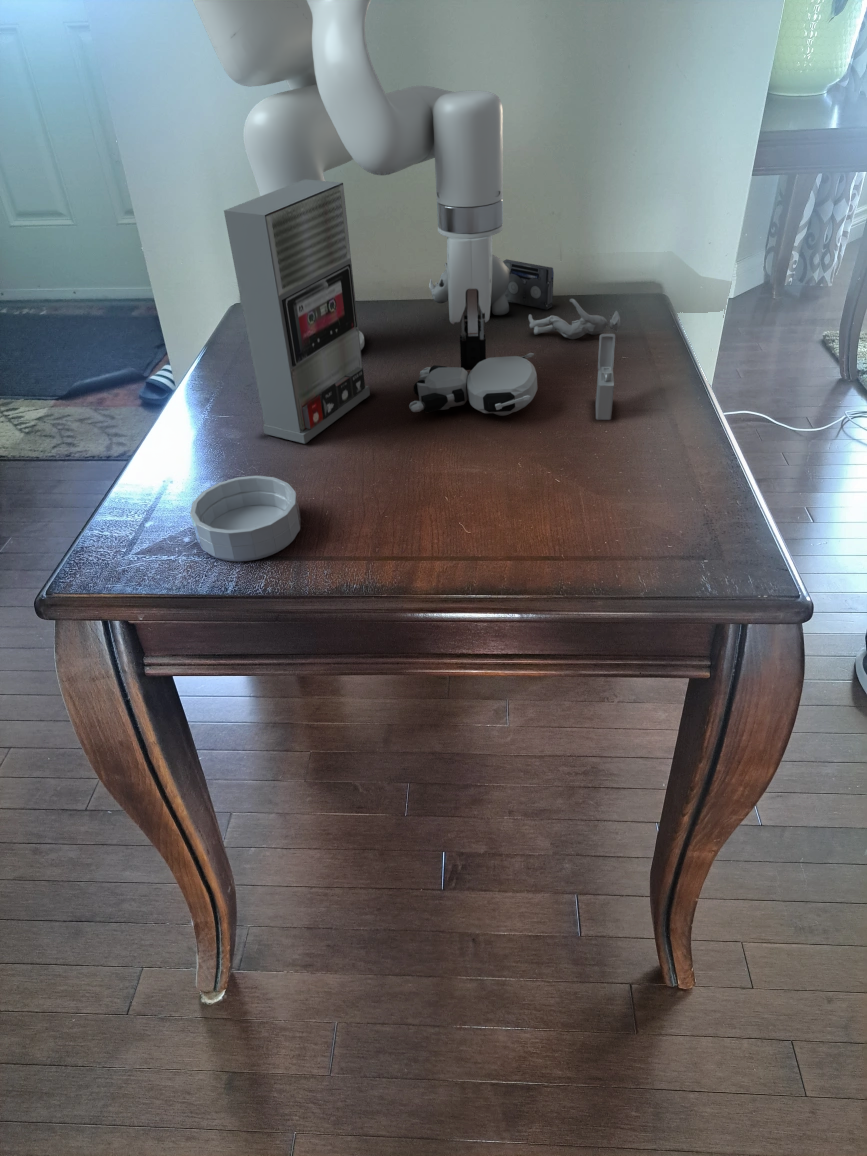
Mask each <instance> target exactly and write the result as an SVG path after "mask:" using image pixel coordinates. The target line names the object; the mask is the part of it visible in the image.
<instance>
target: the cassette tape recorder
mask: <svg viewBox="0 0 867 1156" xmlns="http://www.w3.org/2000/svg"><path fill="white" fill-rule="evenodd" d="M345 198H346V197H345V187H344V183H343V182H338V181H327V180H325V181H317V180H306V179H304V180H302V181H299V182H296V183H294V184H291V185H289V186H286V187H283V188H281V189H278V190H276V191H273V192H271V193H268V194H265V195H263V196H260V195H259V196H257V197H255V198H253V199H250V200H247V201H245V202H243V203H240V204H237V205H234V206H232V207H229V208H227V209H224V210H223V214H224V219H225V224H226V231H227V235H228V241H229V245H230V251H231V256H232V260H233V267H234V271H235V277H236V283H237V288H238V293H239V298H240V305H241V308H242V313H243V314H242V315H243V319H244V324H245V329H246V335H247V340H248V345H249V351H250V355H251V361H252V366H253V371H254V376H255V377H254V378H255V381H256V388H257V393H258V397H259V402H260V407H261V414H262V418H263V423H264V424H262V426H263V427H262V428H263V432H264V435H268V436H272V437H276V438H280V439H284V440H289V441H293V442H296V443H300V444H304V445H305V444H307V443H308V442H310V440H312V439H313V438H315V437H316V436H317V435H319V434H320V433H321V432H323V431H324V430H325V429H326V428H328V427H329V426H330V425H332V424H333V423H335V422H336V421H337V420H338V419H340V418H341V417H343V416H344V415H346V413H349V412H350V411H351V410H352V409H353V408H354V407H356V406H357V405H359V404H360V403H362V402H363V401H364V400H365V399H367V398H368V397H369V396H371V392H370V390H371V389H370V386H369V385H366V384H365V374H364V368H363V359H362V350H361V349H360V339H359V331H360V330H359V321H358V320H359V319H358V312H357V303H356V301H357V300H356V292H355V284H354V272H353V264H352V263H353V262H352V254H351V245H350V236H349V235H350V234H349V225H348V217H347V216H348V215H347V208H346V199H345Z"/></svg>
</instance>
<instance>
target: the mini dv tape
mask: <svg viewBox="0 0 867 1156" xmlns="http://www.w3.org/2000/svg"><path fill="white" fill-rule="evenodd" d="M502 261H503V262H504V264H505V265H506V266H507V267H508V269H509V271H510V273H509V284H508V288H507V290H506V292H505V296H506V299H507V301H508V303H513V304H517V305H522V306H526V307H530V308H536V309H541V310H545V311H546V310H548V309H551V308H552V307H553V302H554V301H553V300H554V299H553V298H554V274H555V273H554V272H555V271H554V267H553V266H545V265H540V264H534V263H528V262H524V261H519V260H513V259H507V258H506V259H504V260H502Z"/></svg>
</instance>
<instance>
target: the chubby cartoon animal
mask: <svg viewBox="0 0 867 1156" xmlns="http://www.w3.org/2000/svg"><path fill="white" fill-rule="evenodd" d="M503 261H504V260H502V259H501V258H500V257H499V256H497V255H494V254H492V291H491V306H490V309H491V313H492V314H493V315H494V316H505V315H506V314H508V313H509V312H510V305H509V304H510V303H509V302H508V301H507V299H506V296H505V292H506V290H507V288H508V284H509V273H510V271H509V269H508V267H507V266H506V265H505V264H504V262H503ZM444 267H445V269H444V271H443V272H442V273H441V274H440V276H439V281H438V282H437V281H435V284H434V283H433V279H432V278H430V280H429V283H428V288H429V290H430V292H431V298H432V300H433V301H434V302H435V303H437V304H445V303H446V302H449V300H448V275H447V262H444Z"/></svg>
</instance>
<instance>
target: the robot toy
mask: <svg viewBox="0 0 867 1156" xmlns="http://www.w3.org/2000/svg"><path fill="white" fill-rule="evenodd" d="M534 355H535V353H532V352H529V353H527V354H525V355H522V356H519V355H511V356H496V357H494V356H493V357H486V359H485V360H483V361H481V362H479V363H478V364H477V365H476V366H475V367H474V368H473V369H472V370H469V371H468V370H465V369H464V368H461V367H456V366H455V367H453V366H452V367H451V366H449V367H448V366H445V365H438V364H435V365H431V367H429V366H428V367H424V368H423V369H422V370H419V372H420V373H419V375H420V376H418V380H417V381H416V382H415V383H414V384H413V393H414V395H415V396H416V397H418V400H414V401H411V402H410V403H409V405H408V407H409V410H410V411H411V412H413V413H418V412H419V413H420V412H421V411H423V412H425V413H426V414H428V413H432V412H436V411H443V410H449V409H450V408H453V407H459V406H464V405H465V404H466V403H467V401H468V402H469V405H470V406H471V407H472V408H474V410H476V411H479V412H481V413H483V414H494V415H496V416H502V417H504V416H508V415H511V414H513V413H516V412H518V411H520V410H522V409H524V408H526V407H527V406H528V405H529V404H530V403H531V402H532V401H533V399H534V398H535V396H536V393H537V391H538V375H537V370H536V367H535V366H534V364H533V363H532V362H531V361H529V360H528V359H529V358H532V357H533V356H534Z"/></svg>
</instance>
